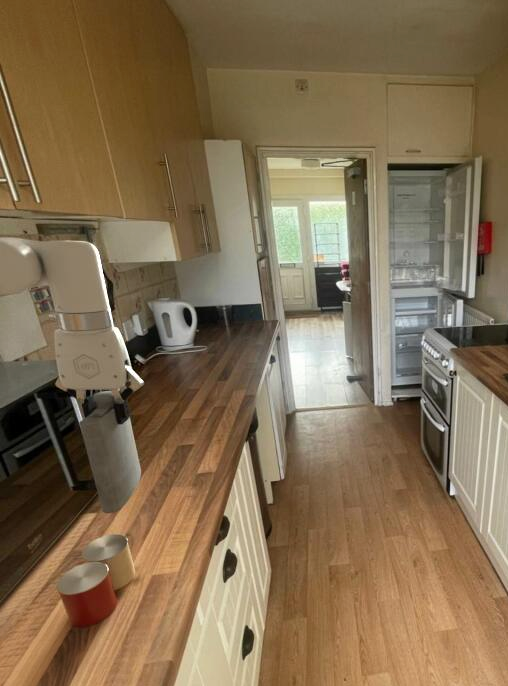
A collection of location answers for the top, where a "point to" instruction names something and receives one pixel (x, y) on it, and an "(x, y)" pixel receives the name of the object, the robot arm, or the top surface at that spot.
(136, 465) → the hip flask
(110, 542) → the can cream
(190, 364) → the top surface
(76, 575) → the can red
